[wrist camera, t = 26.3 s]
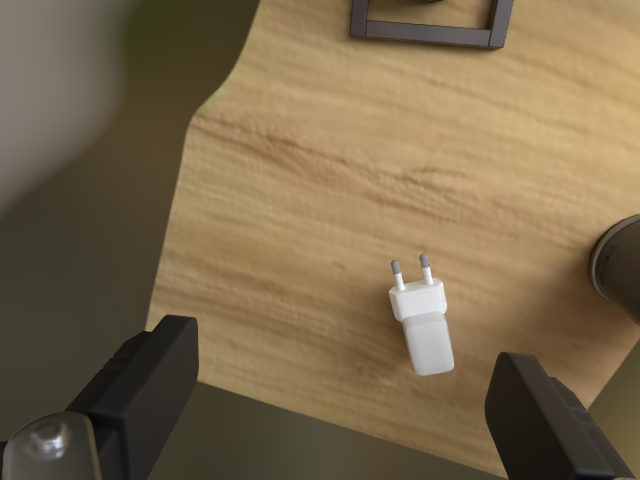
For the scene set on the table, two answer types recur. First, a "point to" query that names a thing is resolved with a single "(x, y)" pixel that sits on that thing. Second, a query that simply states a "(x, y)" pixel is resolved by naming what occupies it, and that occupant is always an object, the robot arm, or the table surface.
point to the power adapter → (423, 320)
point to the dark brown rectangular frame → (433, 29)
